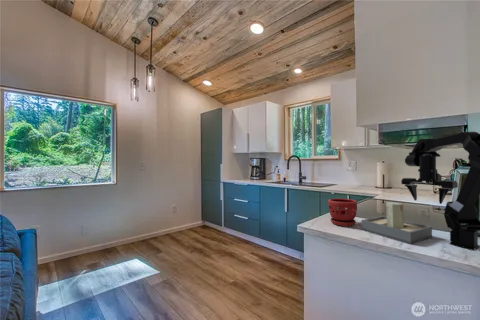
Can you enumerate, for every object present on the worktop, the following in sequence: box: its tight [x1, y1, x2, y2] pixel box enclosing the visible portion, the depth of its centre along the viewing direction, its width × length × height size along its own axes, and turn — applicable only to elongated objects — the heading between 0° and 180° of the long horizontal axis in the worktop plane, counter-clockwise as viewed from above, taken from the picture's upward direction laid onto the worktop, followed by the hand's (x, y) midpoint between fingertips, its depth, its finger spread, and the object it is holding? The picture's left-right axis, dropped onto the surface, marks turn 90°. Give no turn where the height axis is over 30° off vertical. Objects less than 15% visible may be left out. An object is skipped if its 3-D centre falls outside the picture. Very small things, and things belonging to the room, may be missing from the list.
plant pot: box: [327, 198, 358, 227], centre depth 114 cm, size 13×13×12 cm
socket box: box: [361, 215, 433, 245], centre depth 99 cm, size 20×16×4 cm
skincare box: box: [385, 201, 405, 229], centre depth 98 cm, size 6×4×12 cm
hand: (427, 202), depth 101 cm, fingers open, 9 cm apart
